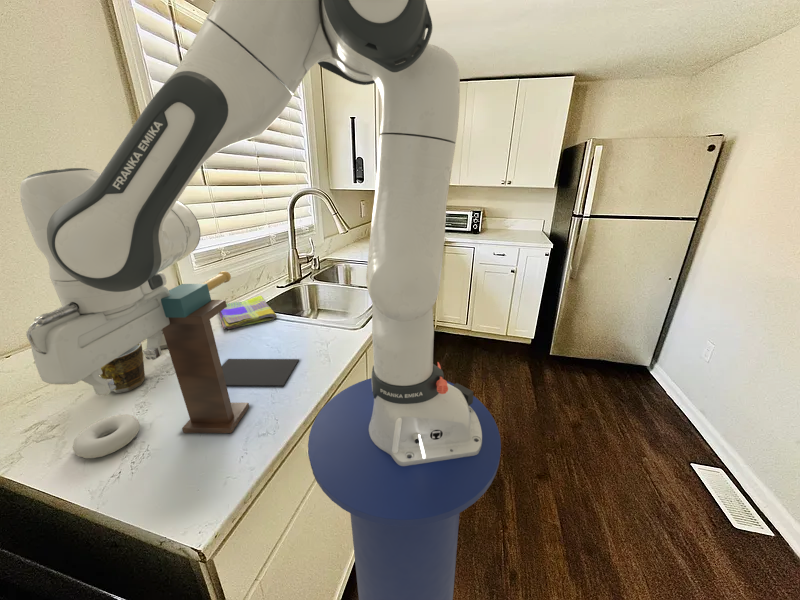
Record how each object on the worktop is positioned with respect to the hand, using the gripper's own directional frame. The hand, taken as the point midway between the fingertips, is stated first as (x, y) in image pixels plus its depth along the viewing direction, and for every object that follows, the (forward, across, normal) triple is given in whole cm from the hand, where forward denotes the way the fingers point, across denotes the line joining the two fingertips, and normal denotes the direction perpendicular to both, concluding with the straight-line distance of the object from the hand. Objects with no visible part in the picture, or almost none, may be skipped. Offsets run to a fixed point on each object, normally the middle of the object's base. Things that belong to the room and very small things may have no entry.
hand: (132, 373), depth 51 cm
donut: (+20, +6, +15) cm, 26 cm away
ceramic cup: (+20, +22, +26) cm, 40 cm away
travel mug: (+20, +44, +32) cm, 58 cm away
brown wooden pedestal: (+20, +12, -3) cm, 23 cm away
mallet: (-6, +17, -3) cm, 18 cm away
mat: (+20, +30, -3) cm, 36 cm away
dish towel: (+20, +68, +17) cm, 72 cm away
